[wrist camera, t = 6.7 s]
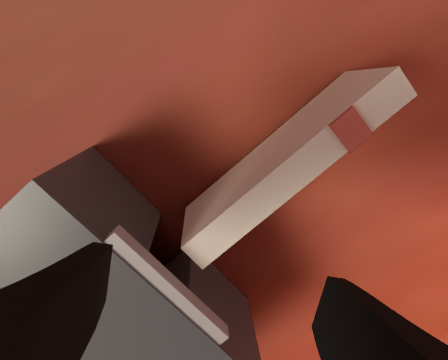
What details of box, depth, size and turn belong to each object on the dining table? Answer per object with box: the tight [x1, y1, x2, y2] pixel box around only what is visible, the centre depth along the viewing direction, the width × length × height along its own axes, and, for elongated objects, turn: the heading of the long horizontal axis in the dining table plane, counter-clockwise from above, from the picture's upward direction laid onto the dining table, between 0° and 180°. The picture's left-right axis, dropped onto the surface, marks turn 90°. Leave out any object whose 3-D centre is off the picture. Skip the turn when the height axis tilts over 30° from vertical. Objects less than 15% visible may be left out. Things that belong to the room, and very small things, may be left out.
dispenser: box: [0, 146, 261, 360], centre depth 18 cm, size 14×11×7 cm
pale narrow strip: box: [181, 66, 417, 270], centre depth 17 cm, size 2×12×5 cm, turn 131°
